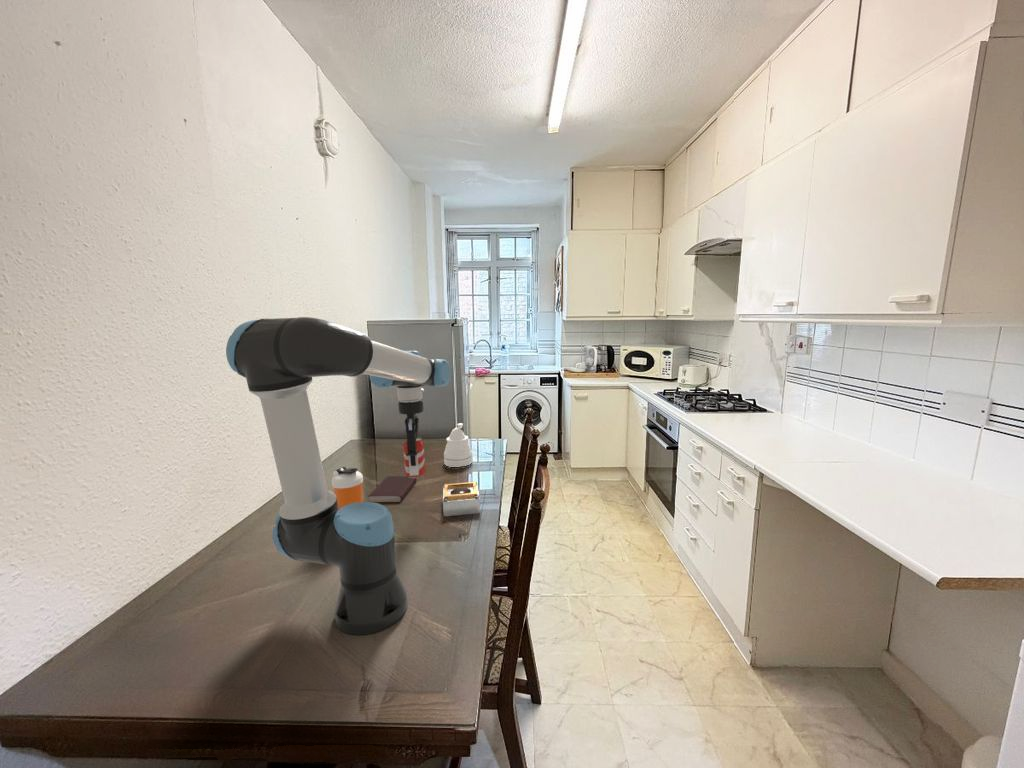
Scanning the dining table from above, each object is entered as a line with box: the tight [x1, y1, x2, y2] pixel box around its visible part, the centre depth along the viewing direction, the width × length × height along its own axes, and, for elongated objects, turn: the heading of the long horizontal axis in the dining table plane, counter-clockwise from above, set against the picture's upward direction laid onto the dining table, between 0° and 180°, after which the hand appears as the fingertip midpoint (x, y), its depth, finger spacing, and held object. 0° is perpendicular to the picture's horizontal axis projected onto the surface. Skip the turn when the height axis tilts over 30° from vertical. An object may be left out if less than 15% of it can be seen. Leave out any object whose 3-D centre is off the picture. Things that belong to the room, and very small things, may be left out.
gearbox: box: [442, 481, 481, 517], centre depth 146 cm, size 14×12×6 cm
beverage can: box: [402, 437, 426, 479], centre depth 134 cm, size 6×6×12 cm
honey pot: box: [443, 422, 474, 468], centre depth 191 cm, size 13×13×18 cm
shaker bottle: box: [331, 466, 364, 509], centre depth 129 cm, size 9×9×20 cm
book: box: [367, 475, 417, 503], centre depth 161 cm, size 12×19×3 cm, turn 176°
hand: (415, 471), depth 135 cm, fingers closed on beverage can, 6 cm apart
